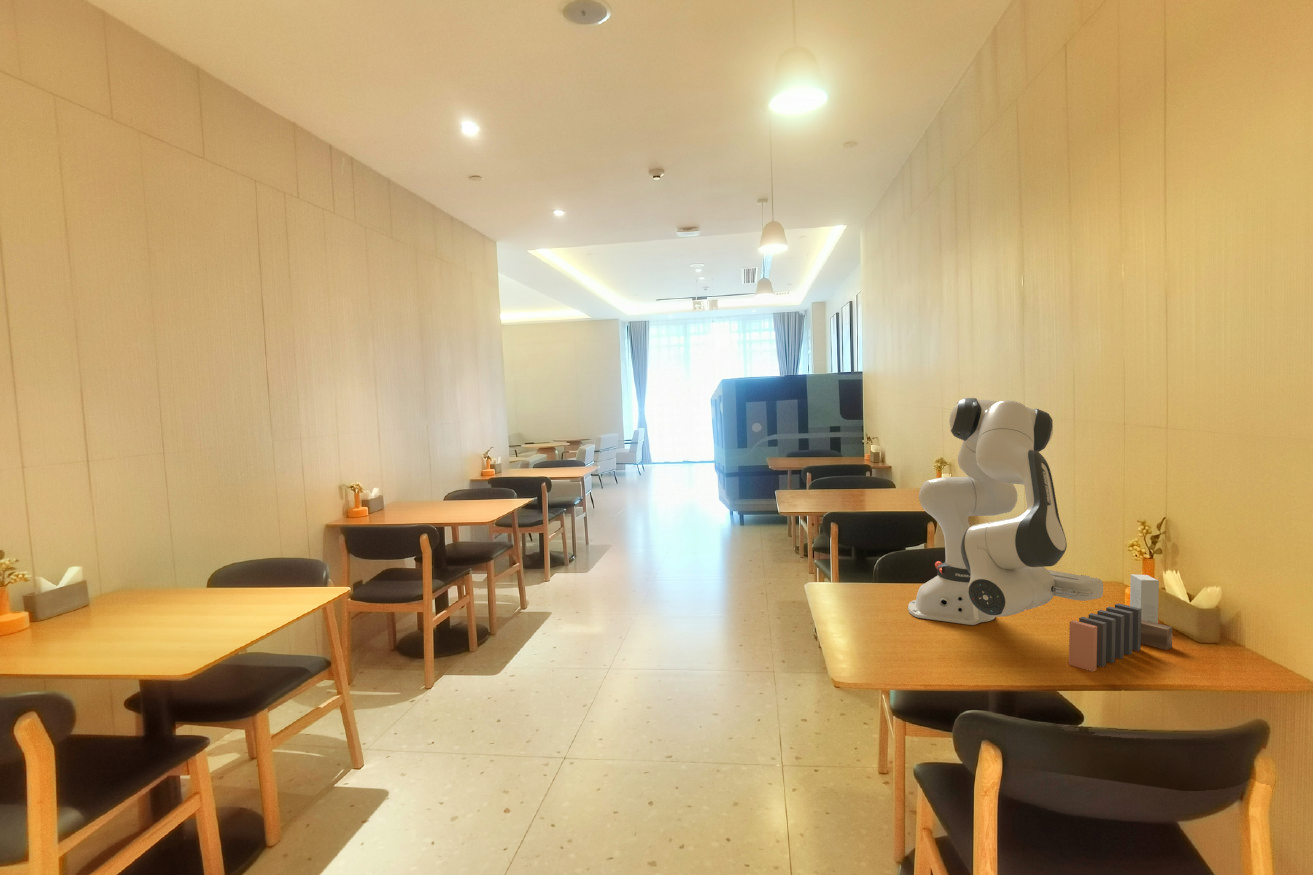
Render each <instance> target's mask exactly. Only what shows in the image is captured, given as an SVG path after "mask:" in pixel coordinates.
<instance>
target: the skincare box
mask: <svg viewBox="0 0 1313 875" xmlns="http://www.w3.org/2000/svg"><path fill="white" fill-rule="evenodd" d="M1129 587H1130V588H1129V591H1130V592H1129V594H1130V595H1129V596H1130V597H1129V606H1132V607H1136V608H1141V620H1145V621H1150V622H1154V623H1158V624H1159V597H1160V596H1159V595H1160V594H1159V593H1160V591H1159V590H1160V589H1159V588H1160V580H1158V579H1156V578H1154V577H1152V576H1150V575H1148V574H1130V586H1129Z"/></svg>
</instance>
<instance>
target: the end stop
mask: <svg viewBox="0 0 1313 875" xmlns="http://www.w3.org/2000/svg"><path fill="white" fill-rule="evenodd" d="M1141 644H1142V645H1147V646H1151V647H1154V648H1158V649H1161V650H1165V651H1167V650H1170V649H1171V648H1173V626H1170V625H1166V624H1161V623H1159V622H1158V623H1154V622H1150V621H1145V620H1141Z"/></svg>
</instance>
